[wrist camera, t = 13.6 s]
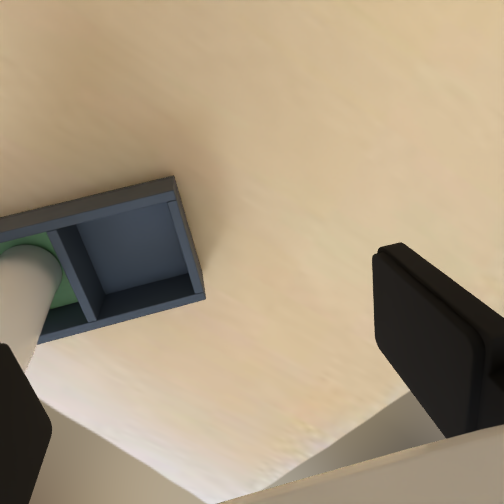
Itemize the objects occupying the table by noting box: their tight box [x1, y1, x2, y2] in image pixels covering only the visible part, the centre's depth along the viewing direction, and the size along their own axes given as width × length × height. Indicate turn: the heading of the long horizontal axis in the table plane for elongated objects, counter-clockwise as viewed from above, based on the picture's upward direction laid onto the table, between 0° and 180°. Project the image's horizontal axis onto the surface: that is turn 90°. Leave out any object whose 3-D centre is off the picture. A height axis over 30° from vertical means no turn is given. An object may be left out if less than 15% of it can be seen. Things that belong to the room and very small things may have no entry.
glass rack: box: [0, 176, 206, 345], centre depth 34 cm, size 10×19×5 cm, turn 101°
